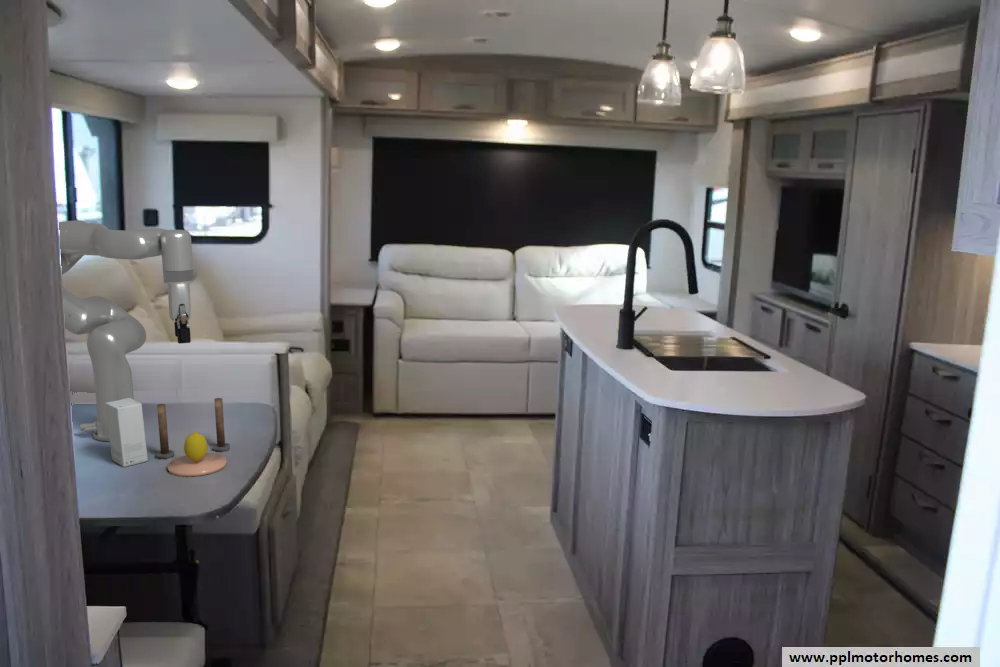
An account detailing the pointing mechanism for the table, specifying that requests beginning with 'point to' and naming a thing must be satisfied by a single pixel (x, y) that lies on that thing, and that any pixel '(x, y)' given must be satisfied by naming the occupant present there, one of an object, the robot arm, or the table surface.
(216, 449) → the right dowel
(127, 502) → the table surface
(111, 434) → the skincare box
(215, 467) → the plate
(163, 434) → the left dowel
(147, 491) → the table surface
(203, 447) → the lemon
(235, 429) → the table surface
